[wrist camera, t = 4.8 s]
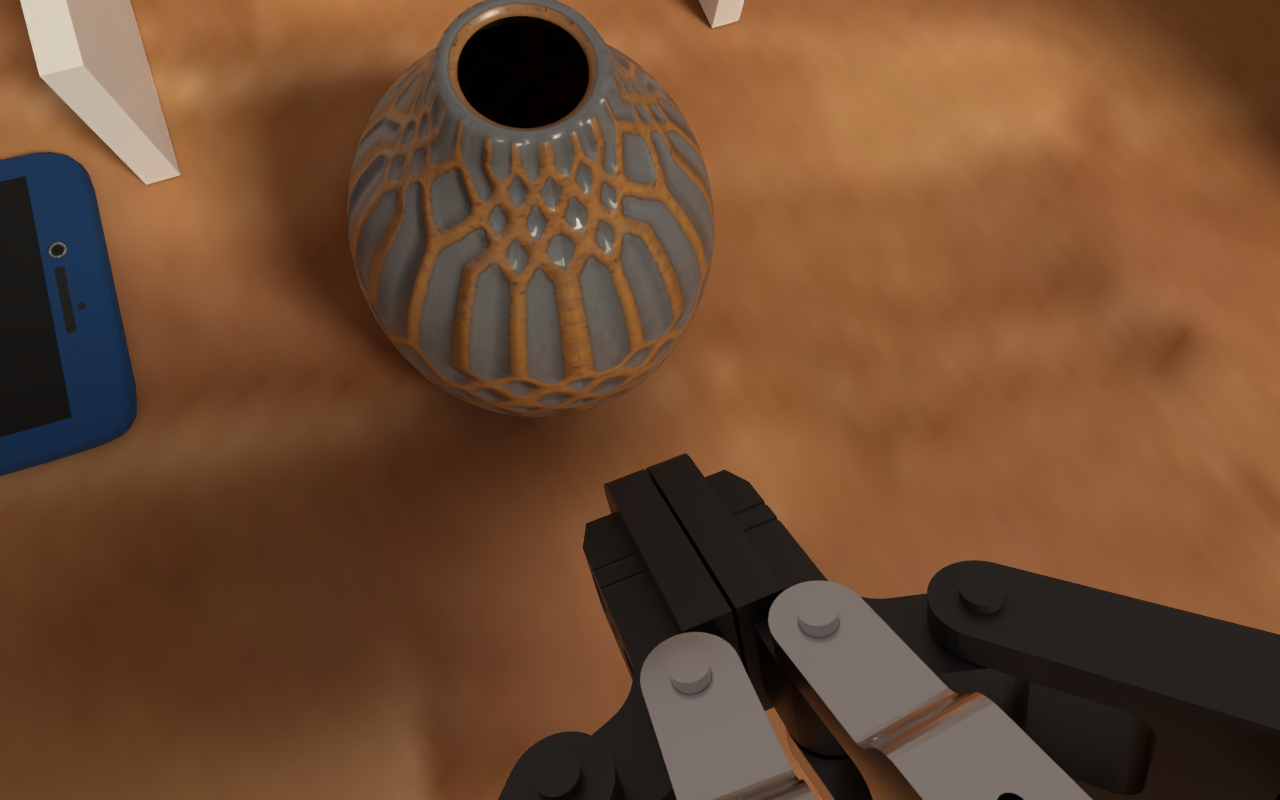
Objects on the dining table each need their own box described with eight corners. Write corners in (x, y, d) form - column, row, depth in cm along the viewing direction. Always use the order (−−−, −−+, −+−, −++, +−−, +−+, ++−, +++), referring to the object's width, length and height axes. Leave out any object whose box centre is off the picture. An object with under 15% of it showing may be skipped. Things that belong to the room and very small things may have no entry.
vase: (633, 149, 20) (680, -176, 12) (723, 397, 19) (849, 226, 11) (364, 215, 19) (207, -92, 11) (437, 484, 18) (322, 370, 9)
